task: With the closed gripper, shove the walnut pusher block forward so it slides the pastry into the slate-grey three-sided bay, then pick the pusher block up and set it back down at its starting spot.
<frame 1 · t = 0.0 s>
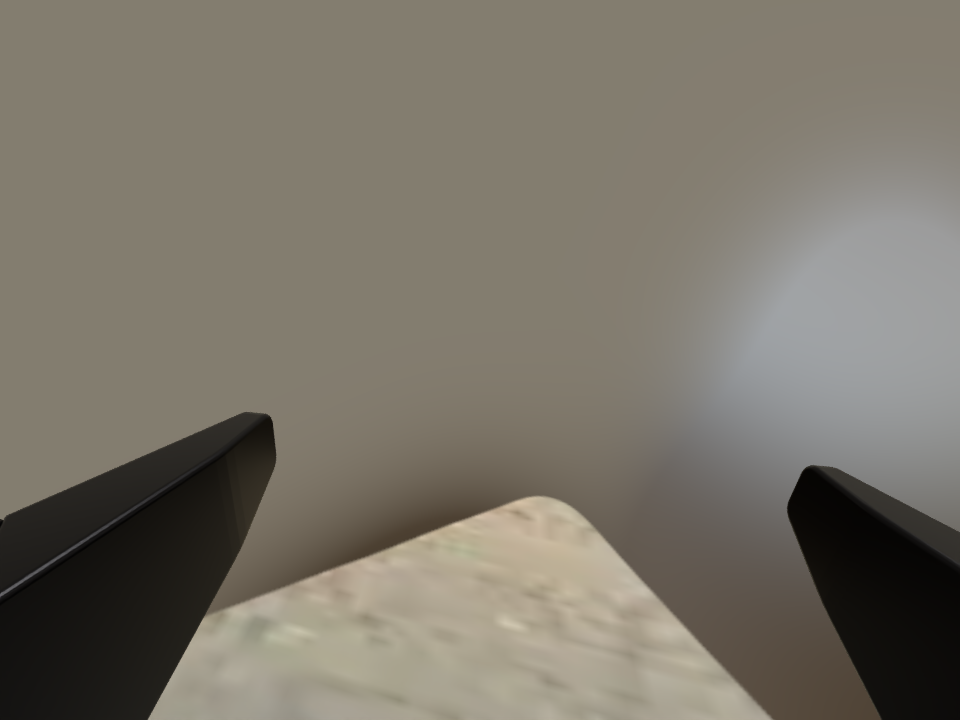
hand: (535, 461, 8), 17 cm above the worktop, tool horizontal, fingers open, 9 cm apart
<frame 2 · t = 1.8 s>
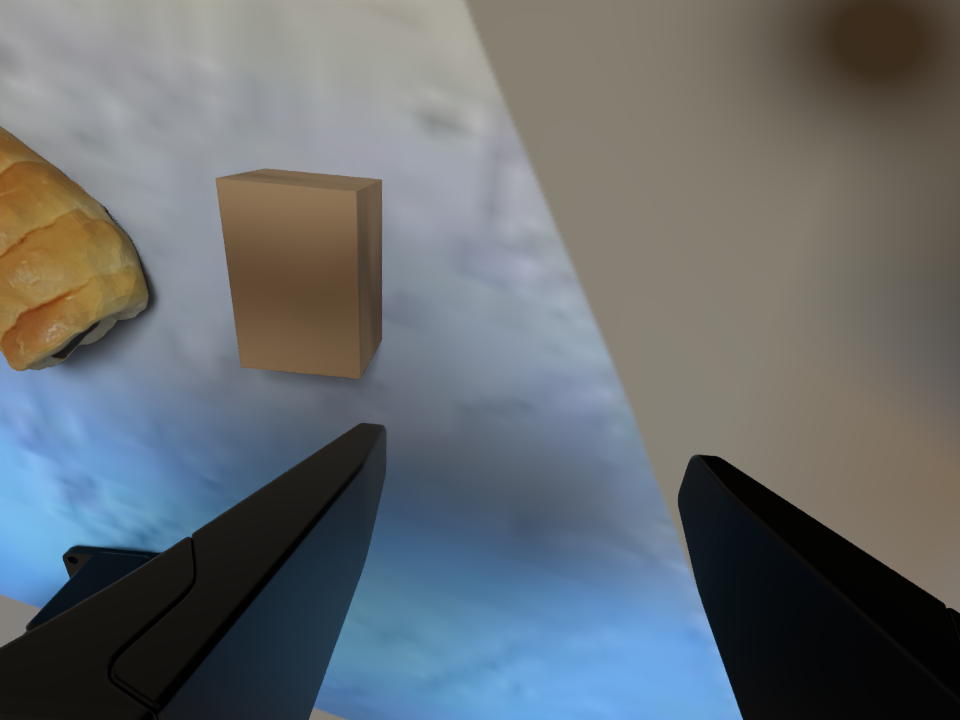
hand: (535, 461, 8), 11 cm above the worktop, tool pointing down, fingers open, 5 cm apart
pusher: (329, 259, 19), on the worktop
pastry: (46, 242, 19), on the worktop
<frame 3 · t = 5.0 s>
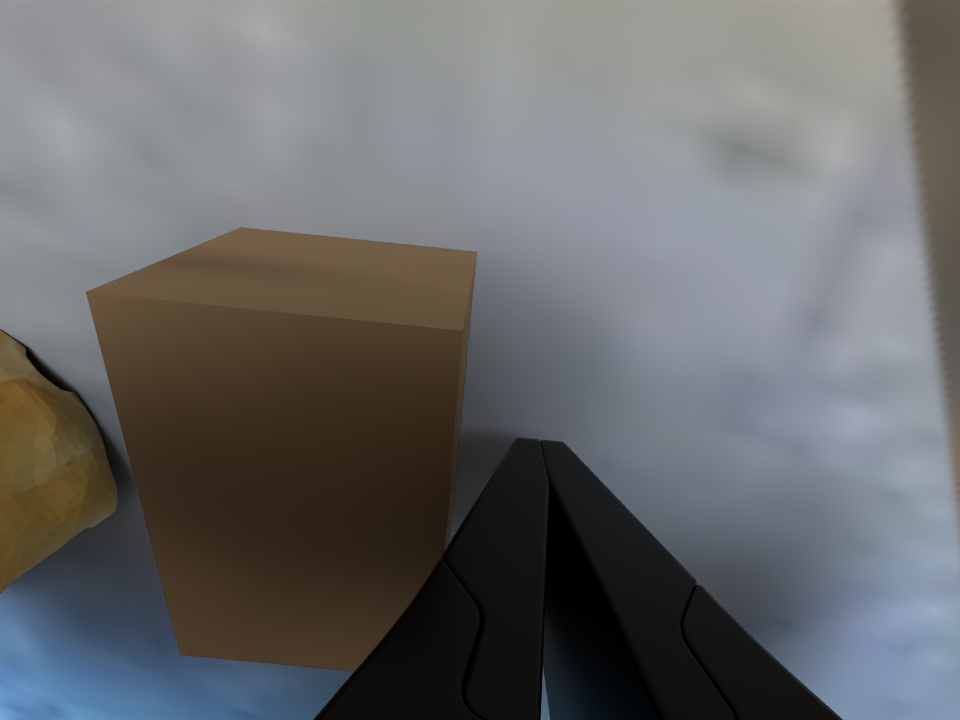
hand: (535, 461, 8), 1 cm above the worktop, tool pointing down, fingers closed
pusher: (360, 393, 10), on the worktop, touching gripper
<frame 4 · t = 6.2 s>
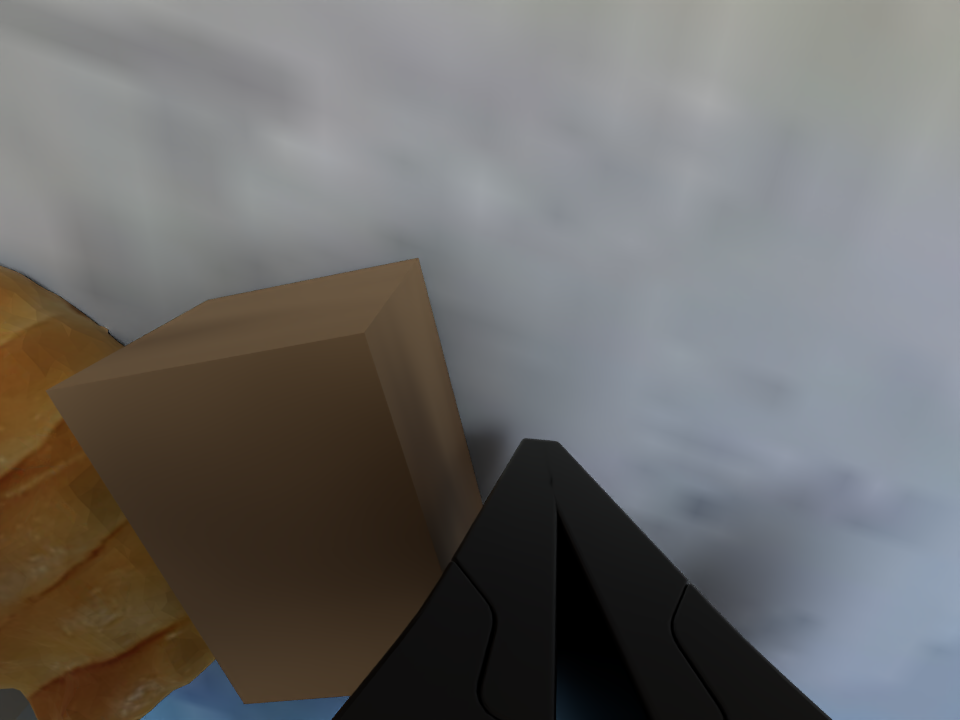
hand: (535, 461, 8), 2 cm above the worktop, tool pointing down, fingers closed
pusher: (360, 422, 10), on the worktop, touching gripper, pastry
pastry: (108, 460, 11), on the worktop, touching bay, pusher
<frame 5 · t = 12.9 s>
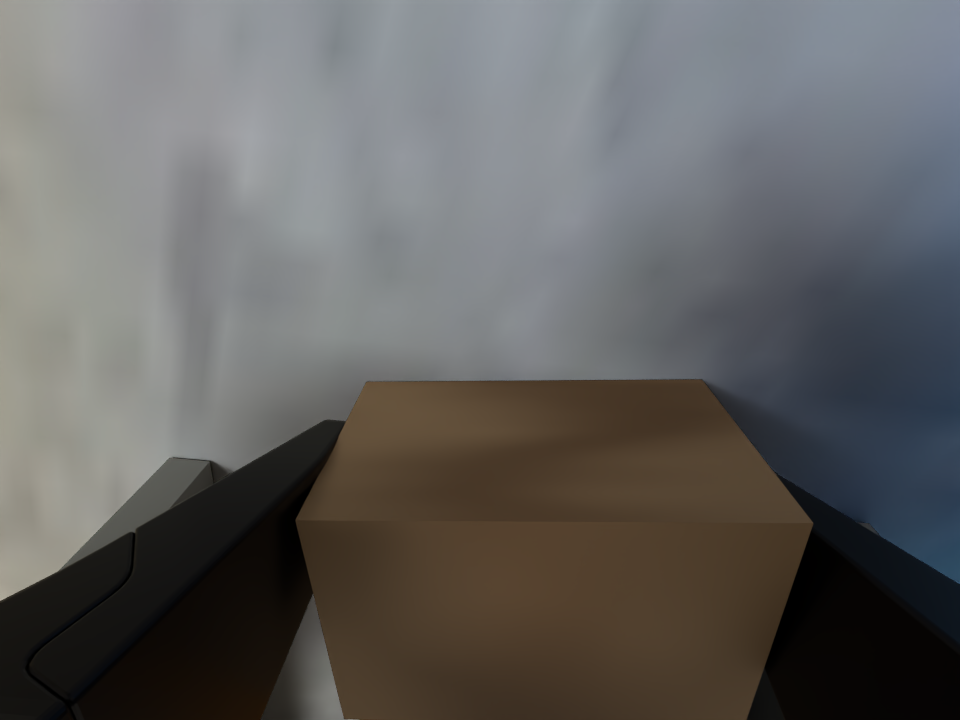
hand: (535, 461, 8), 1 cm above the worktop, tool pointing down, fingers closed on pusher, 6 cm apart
pusher: (529, 470, 10), on the worktop, touching gripper
bay: (494, 657, 12), on the worktop
when the fingers open (2 cm above the worktop, at t = 17.6 s): pusher drops 2 cm, on the worktop.
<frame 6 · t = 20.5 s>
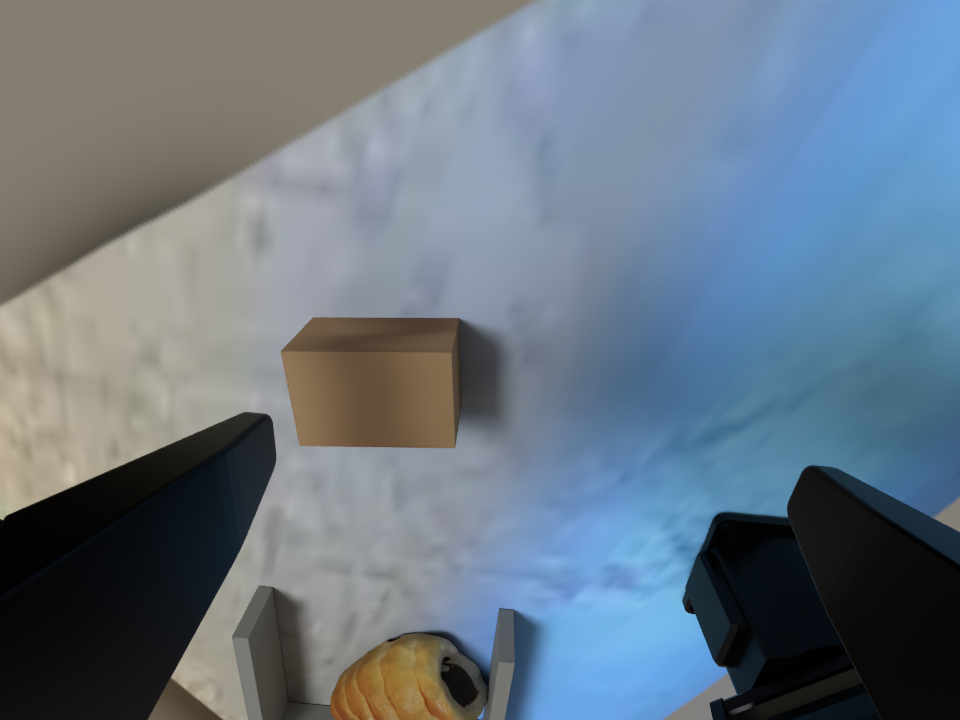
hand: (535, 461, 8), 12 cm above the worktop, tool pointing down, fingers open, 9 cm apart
pusher: (390, 360, 21), on the worktop
bay: (385, 659, 30), on the worktop
pastry: (415, 666, 31), on the worktop
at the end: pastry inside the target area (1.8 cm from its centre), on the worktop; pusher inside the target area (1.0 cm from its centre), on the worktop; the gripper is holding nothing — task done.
